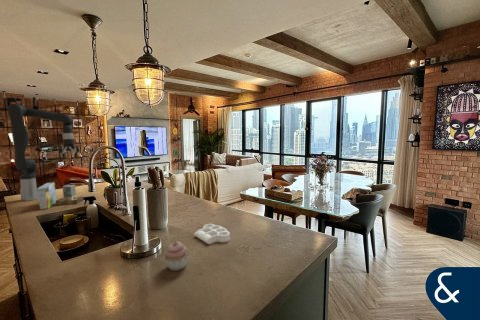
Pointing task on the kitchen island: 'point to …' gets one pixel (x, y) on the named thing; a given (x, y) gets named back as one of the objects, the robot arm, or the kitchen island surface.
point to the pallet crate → (69, 192)
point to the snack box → (46, 195)
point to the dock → (69, 201)
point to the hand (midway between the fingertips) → (70, 157)
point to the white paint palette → (213, 234)
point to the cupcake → (176, 256)
